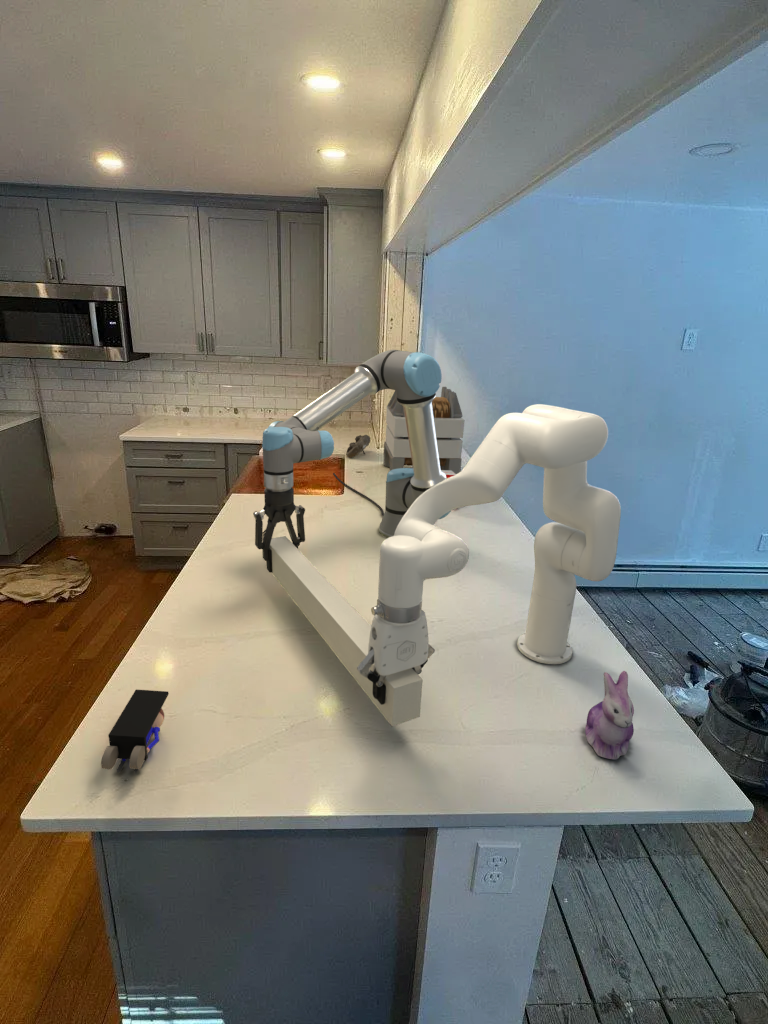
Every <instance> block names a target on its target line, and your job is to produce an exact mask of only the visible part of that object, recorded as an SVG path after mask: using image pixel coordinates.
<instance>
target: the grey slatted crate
mask: <svg viewBox="0 0 768 1024" xmlns="http://www.w3.org/2000/svg"><path fill="white" fill-rule="evenodd" d="M440 393H441V394H440V396H436V397H435V398H434V399H433V400H432V409H433V416H434V424H435V432H436V439H437V447H438V455H439V462H440V470H452V471H453V472H454V473H455V474H458V473H459V472H461V471H462V461H463V460H462V453H463V442H464V441H463V440H462V439H463V438H464V431H465V430H464V429H465V419H464V418H463V411H462V408H461V405H460V402H459V398H458V395H457V392H455V391H453V390H452V389H451V388H447V386H442V387H441V392H440ZM385 414H386V415H385V423H386V428H385V438H384V442H383V466H384V467H388V468H389V471H391V470H393V469H399V468H405V466H406V467H407V466H411V467H413V464H412V458H411V452H410V445H409V439H408V433H407V426H406V420H405V414H404V407H403V406H402V405H401V404H399V403H398V402H397V396H396V390H394V392H393V394H392V395H391V398H390V400H389V402H388V404H387V405H386V413H385Z"/></svg>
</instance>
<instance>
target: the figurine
mask: <svg viewBox="0 0 768 1024" xmlns="http://www.w3.org/2000/svg"><path fill="white" fill-rule="evenodd" d="M603 684H604V685H603V688H604V689H603V690H604V698H603V700H602V701H599V702H598V703H597V704H595V705H593V706H592V707H591V708H590V709H589V710H588V713H587V715H586V716H587V717H586V723H585V728H584V732H585V738H586V741H587V743H588V744H589V745H590V746H591V747H592V749H593V750H594V752H595V754H596V755H597V756H599V757H600V758H601V757H602V758H605V759H609V760H618V759H620V756H625V755H626V754H627V752H628V750H629V745H630V741H631V740H632V738H633V736H634V731H635V729H634V723H633V717H634V715H635V707H634V703H633V700H632V698H631V696H630V694H629V691H628V689H629V674H628V672H627V671H626V670H622V671H621V672H620V673H619V676H618V678H617V681H616V682H615V680H614V679H613V677H612V676H611V675H610V673H608V672H607V671H604V673H603Z"/></svg>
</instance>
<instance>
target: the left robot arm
mask: <svg viewBox="0 0 768 1024" xmlns="http://www.w3.org/2000/svg"><path fill="white" fill-rule="evenodd" d="M353 372H354V373H352V374H350V375H349V376H348V377H347V378H345V379H343V380H342V381H340V383H338V384H337V385H335V386H334V387H333V388H331V389H329V390H328V391H326V392H325V393H324V394H322V395H320V396H319V397H318V398H317V399H315V400H313V401H312V402H310V403H309V404H308V405H306V406H305V407H304V408H302V409H301V410H299V411H297V412H296V413H295V414H294V415H292V416H290V417H289V418H288V419H286V420H275V421H273V422H271V423H270V424H269V426H268V427H267V428H265V429H264V430H263V432H262V443H261V448H262V449H261V450H262V463H263V464H262V465H263V487H264V491H263V493H264V495H263V496H264V506H263V508H262V510H259V511H257V510H255V511H254V512H252V513H253V517H254V520H255V522H254V523H255V525H254V529H255V530H254V545H255V547H256V548H257V550H262V559H263V561H265V565H266V564H267V566H266V570H267V572H268V573H270V574H272V573H271V572H272V550H271V549H270V548H269V546H270V543H271V539H272V538H273V535H274V532H275V528H276V526H277V524H278V523H285V527H286V529H287V531H288V535H289V537H290V541H291V542H292V543H293V544H294V545H295V547H296V548H297V549H298V550H299V547H300V545H301V543H304V542H305V541H306V533H305V532H306V531H305V512H306V508H305V507H304V506H302V505H301V504H299V505H296V504H295V491H294V488H293V487H294V464H300V463H306V462H312V461H322V460H323V459H326V458H330V457H331V456H332V455H333V453H334V451H335V441H334V438H333V435H332V434H331V433H330V432H329V431H327V430H321V429H323V428H324V427H325V426H327V425H328V424H330V423H331V422H332V421H334V420H335V419H336V418H338V417H340V415H342V414H344V413H345V412H346V411H347V410H349V409H350V408H352V407H353V406H355V405H356V404H358V403H359V402H360V401H362V400H363V399H365V398H366V397H367V396H369V395H370V396H374V395H376V394H377V393H379V392H380V391H384V390H392V391H395V390H396V396H397V402H398V403H399V404H401V405H402V406H403V407H404V414H405V420H406V426H407V433H408V439H409V445H410V452H411V458H412V464H413V466H412V467H404V468H399V469H393V470H391V471H390V470H388V472H387V475H386V480H385V504H384V505H385V507H384V508H385V509H383V507H382V506H381V505H379V504H378V503H377V502H376V501H374V500H373V499H371V498H370V497H368V496H367V495H365V494H364V493H362V492H360V491H358V490H357V489H355V488H353V487H351V486H350V485H348V484H347V483H345V482H344V481H342V480H341V478H339V477H338V476H337V475H336V473H335V472H333V473H332V475H333V476H334V478H335V479H336V480H337V481H338V482H339V483H340V484H342V485H343V486H345V487H346V488H347V489H349V490H351V491H352V492H354V493H356V494H358V495H359V496H361V497H363V498H364V499H366V500H367V501H369V502H370V503H372V504H374V505H375V506H376V507H377V508H378V509H379V510H380V513H381V517H382V519H381V522H379V526H378V533H379V534H380V535H381V536H382V537H385V538H386V539H387V538H389V537H392V536H394V533H395V530H396V528H397V526H398V524H399V522H400V521H401V519H402V518H403V516H404V515H405V513H406V512H407V510H408V509H409V508H410V506H411V505H412V504H413V502H414V501H415V500H416V499H417V498H418V497H419V496H420V495H421V494H422V493H424V492H425V491H427V490H428V489H430V488H431V487H433V486H435V485H436V484H438V483H440V482H442V481H443V480H445V479H446V475H445V473H443V472H442V471H441V470H440V462H439V455H438V447H437V439H436V432H435V424H434V416H433V409H432V400H433V399H434V398H435V397H437V392H438V391H439V390H440V387H441V385H440V384H441V383H442V378H443V374H442V369H441V366H440V364H439V362H438V361H437V360H436V358H435V357H434V356H431V355H430V354H427V353H423V352H422V351H421V352H419V351H416V352H415V351H407V350H400V349H389V350H385V351H382V352H379V353H377V354H376V355H374V356H372V357H370V358H369V359H367V360H365V361H364V362H362V363H361V364H360V365H358V366H356V367H355V368H354V371H353ZM451 512H452V510H451V511H449V512H448V513H446V514H444V515H443V516H442V517H440V518H439V519H438V520H437V521H439V520H442V519H444V518H445V517H447V516H448V515H449V514H450V513H451ZM294 513H295V514H296V515H295V519H296V520H295V521H296V530H295V527H294V524H293V520H292V515H293V514H294ZM265 515H266V517H267V521H266V522H267V524H266V528H265V530H266V531H265V530H263V529H264V528H263V527H264V523H263V522H264V521H263V520H264V519H265ZM264 531H265V532H264ZM296 531H297V533H296ZM263 532H264V533H265V535H264V533H263ZM263 535H264V536H263ZM263 538H264V539H263Z"/></svg>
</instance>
